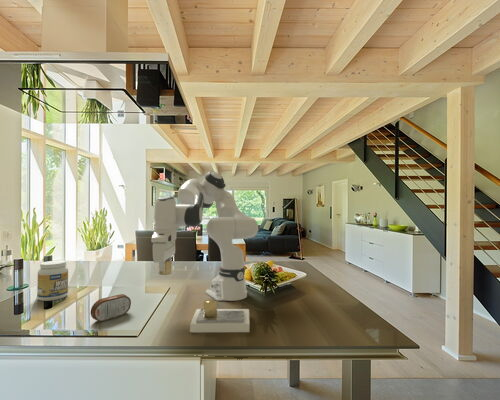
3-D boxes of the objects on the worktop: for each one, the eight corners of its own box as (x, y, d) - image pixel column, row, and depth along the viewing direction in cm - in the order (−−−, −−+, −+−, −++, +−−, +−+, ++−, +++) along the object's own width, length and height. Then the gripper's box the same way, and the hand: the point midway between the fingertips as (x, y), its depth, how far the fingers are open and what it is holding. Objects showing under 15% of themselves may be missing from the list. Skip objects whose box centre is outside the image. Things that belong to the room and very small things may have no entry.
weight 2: (200, 316, 104) (200, 302, 104) (208, 311, 109) (208, 298, 109) (212, 318, 102) (212, 303, 102) (219, 313, 107) (219, 299, 107)
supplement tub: (52, 302, 129) (52, 265, 130) (30, 300, 132) (30, 264, 132) (73, 294, 141) (74, 260, 142) (53, 292, 144) (53, 259, 144)
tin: (128, 311, 119) (128, 291, 119) (132, 313, 117) (132, 293, 117) (90, 323, 108) (90, 300, 108) (93, 325, 106) (93, 302, 106)
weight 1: (156, 273, 117) (156, 261, 117) (167, 271, 120) (168, 259, 120) (162, 275, 113) (162, 263, 113) (173, 273, 117) (173, 261, 117)
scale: (190, 332, 100) (190, 321, 100) (196, 316, 114) (196, 306, 114) (249, 332, 100) (249, 320, 100) (248, 316, 114) (249, 306, 114)
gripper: (164, 232, 127) (164, 263, 127) (149, 238, 107) (149, 275, 107) (178, 232, 127) (178, 263, 127) (166, 238, 107) (166, 275, 107)
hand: (165, 269), depth 117 cm, fingers closed on weight 1, 5 cm apart
